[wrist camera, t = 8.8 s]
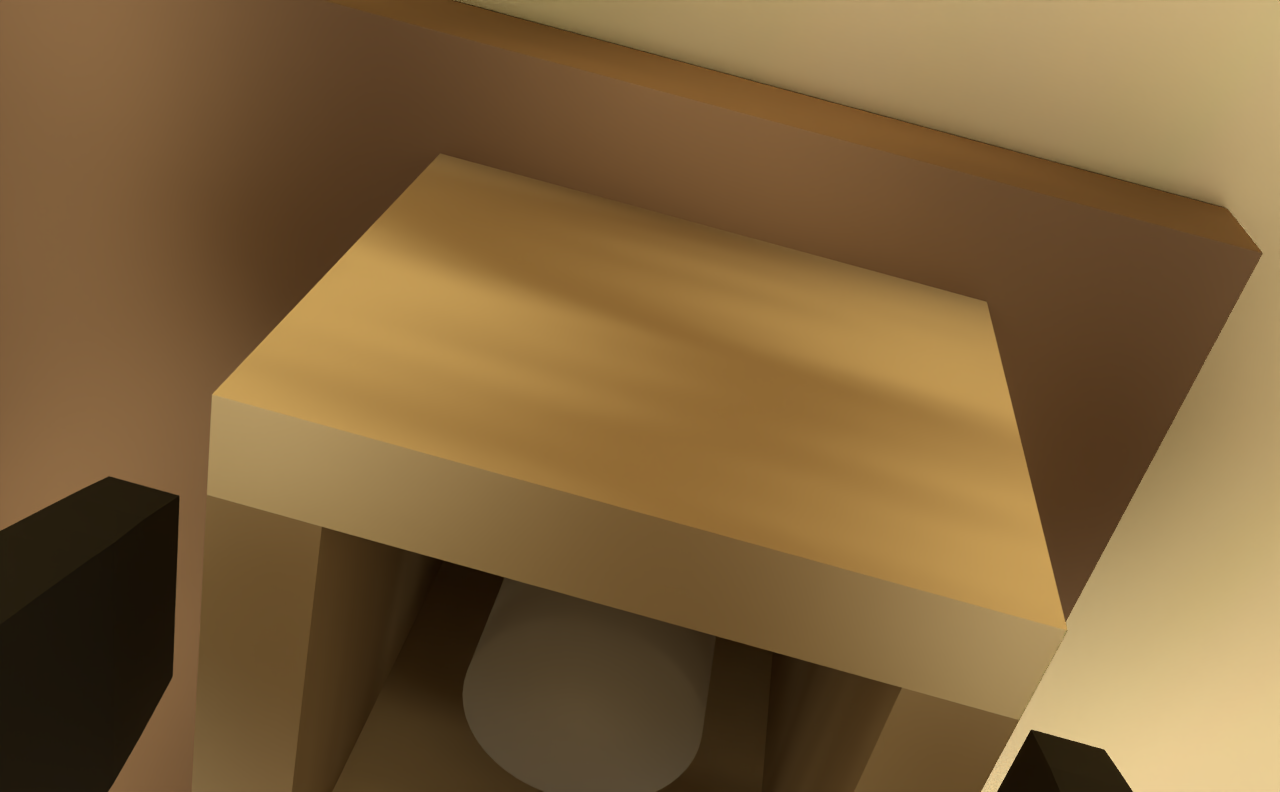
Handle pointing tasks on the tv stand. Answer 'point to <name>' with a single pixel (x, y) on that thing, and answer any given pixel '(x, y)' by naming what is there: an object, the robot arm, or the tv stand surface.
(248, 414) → the hollow wooden box
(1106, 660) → the tv stand surface
